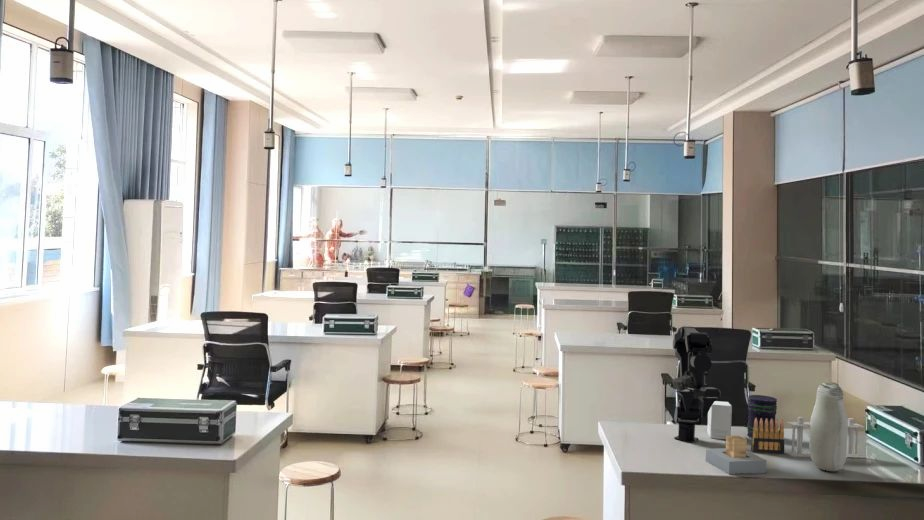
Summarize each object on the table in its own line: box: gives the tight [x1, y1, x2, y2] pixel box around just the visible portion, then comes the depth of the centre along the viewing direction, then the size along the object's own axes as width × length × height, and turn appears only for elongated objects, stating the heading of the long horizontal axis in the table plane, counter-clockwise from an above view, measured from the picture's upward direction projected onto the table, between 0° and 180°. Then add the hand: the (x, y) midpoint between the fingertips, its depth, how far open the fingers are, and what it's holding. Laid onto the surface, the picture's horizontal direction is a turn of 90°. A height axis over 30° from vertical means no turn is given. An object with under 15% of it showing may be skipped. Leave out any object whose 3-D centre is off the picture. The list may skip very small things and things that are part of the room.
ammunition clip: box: [750, 418, 785, 455], centre depth 230 cm, size 11×2×12 cm, turn 87°
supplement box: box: [706, 400, 733, 440], centre depth 249 cm, size 7×7×13 cm
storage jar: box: [746, 394, 778, 439], centre depth 249 cm, size 10×10×15 cm
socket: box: [705, 447, 767, 475], centre depth 213 cm, size 13×13×4 cm
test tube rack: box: [784, 416, 865, 458], centre depth 229 cm, size 25×4×13 cm, turn 92°
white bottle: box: [809, 382, 848, 472], centre depth 213 cm, size 10×10×28 cm
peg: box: [725, 435, 748, 458], centre depth 213 cm, size 4×4×9 cm
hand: (695, 414), depth 228 cm, fingers open, 9 cm apart
